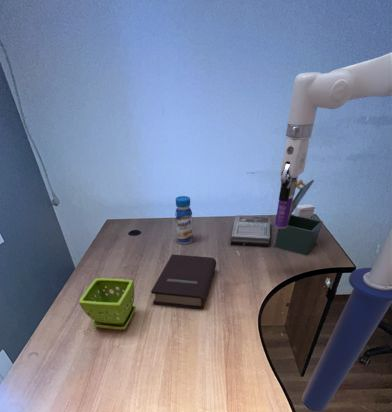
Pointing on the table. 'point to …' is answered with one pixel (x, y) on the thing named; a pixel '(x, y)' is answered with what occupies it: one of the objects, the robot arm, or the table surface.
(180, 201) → the beverage bottle
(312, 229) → the chest
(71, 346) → the table surface
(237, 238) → the hard drive
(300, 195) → the lid
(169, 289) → the book
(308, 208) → the ink box
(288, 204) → the container
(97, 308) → the flower pot
